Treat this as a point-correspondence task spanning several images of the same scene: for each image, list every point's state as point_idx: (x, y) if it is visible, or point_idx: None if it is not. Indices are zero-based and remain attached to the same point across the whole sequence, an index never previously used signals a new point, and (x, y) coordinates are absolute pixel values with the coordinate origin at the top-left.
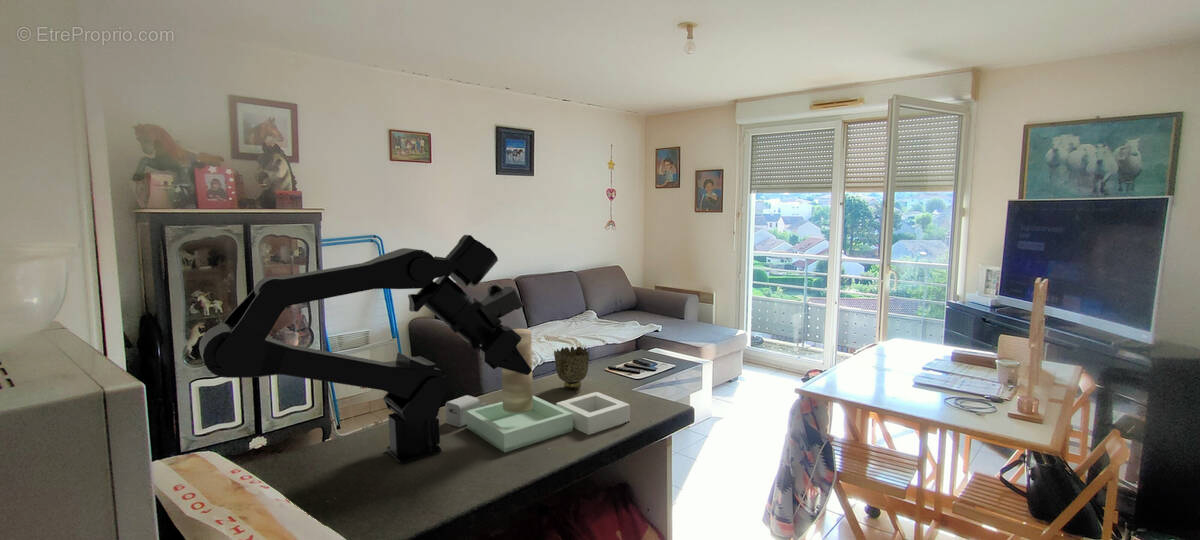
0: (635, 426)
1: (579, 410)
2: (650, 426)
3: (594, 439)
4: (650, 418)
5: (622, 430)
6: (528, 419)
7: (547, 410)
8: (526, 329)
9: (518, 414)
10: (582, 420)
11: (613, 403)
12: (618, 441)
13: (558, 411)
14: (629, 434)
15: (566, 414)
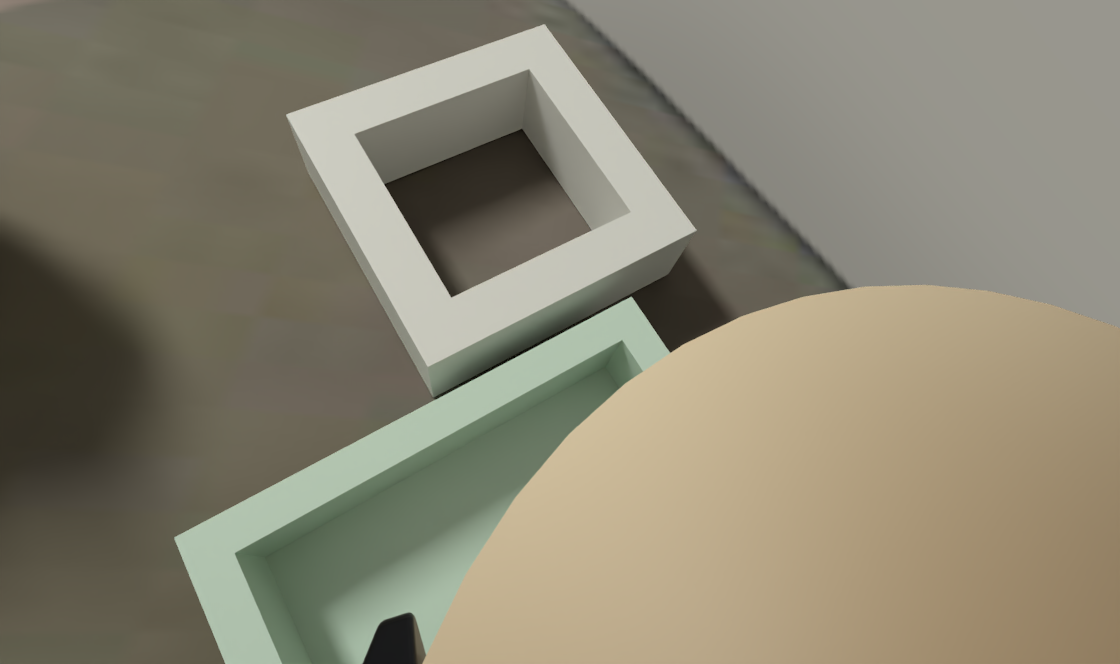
0: (596, 83)
1: (588, 255)
2: (604, 37)
3: (716, 259)
4: (518, 13)
5: (631, 137)
6: (448, 567)
7: (461, 435)
8: (641, 442)
9: (339, 640)
10: (647, 266)
11: (500, 83)
12: (742, 176)
13: (570, 369)
14: (676, 124)
15: (642, 330)
